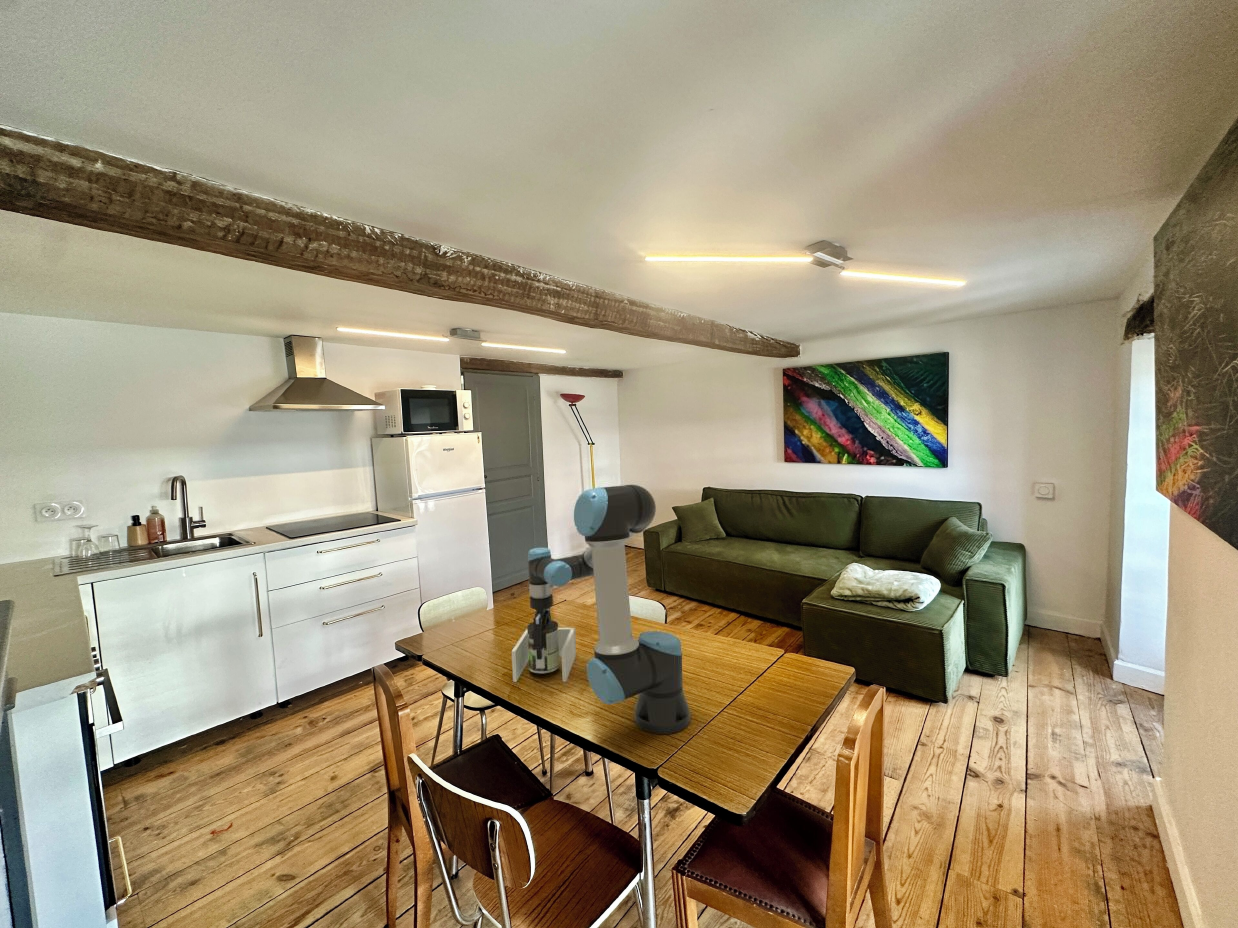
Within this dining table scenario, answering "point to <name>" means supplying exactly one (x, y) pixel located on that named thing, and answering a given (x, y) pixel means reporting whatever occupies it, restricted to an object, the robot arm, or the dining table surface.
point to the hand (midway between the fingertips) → (544, 660)
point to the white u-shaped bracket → (565, 651)
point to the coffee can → (545, 648)
